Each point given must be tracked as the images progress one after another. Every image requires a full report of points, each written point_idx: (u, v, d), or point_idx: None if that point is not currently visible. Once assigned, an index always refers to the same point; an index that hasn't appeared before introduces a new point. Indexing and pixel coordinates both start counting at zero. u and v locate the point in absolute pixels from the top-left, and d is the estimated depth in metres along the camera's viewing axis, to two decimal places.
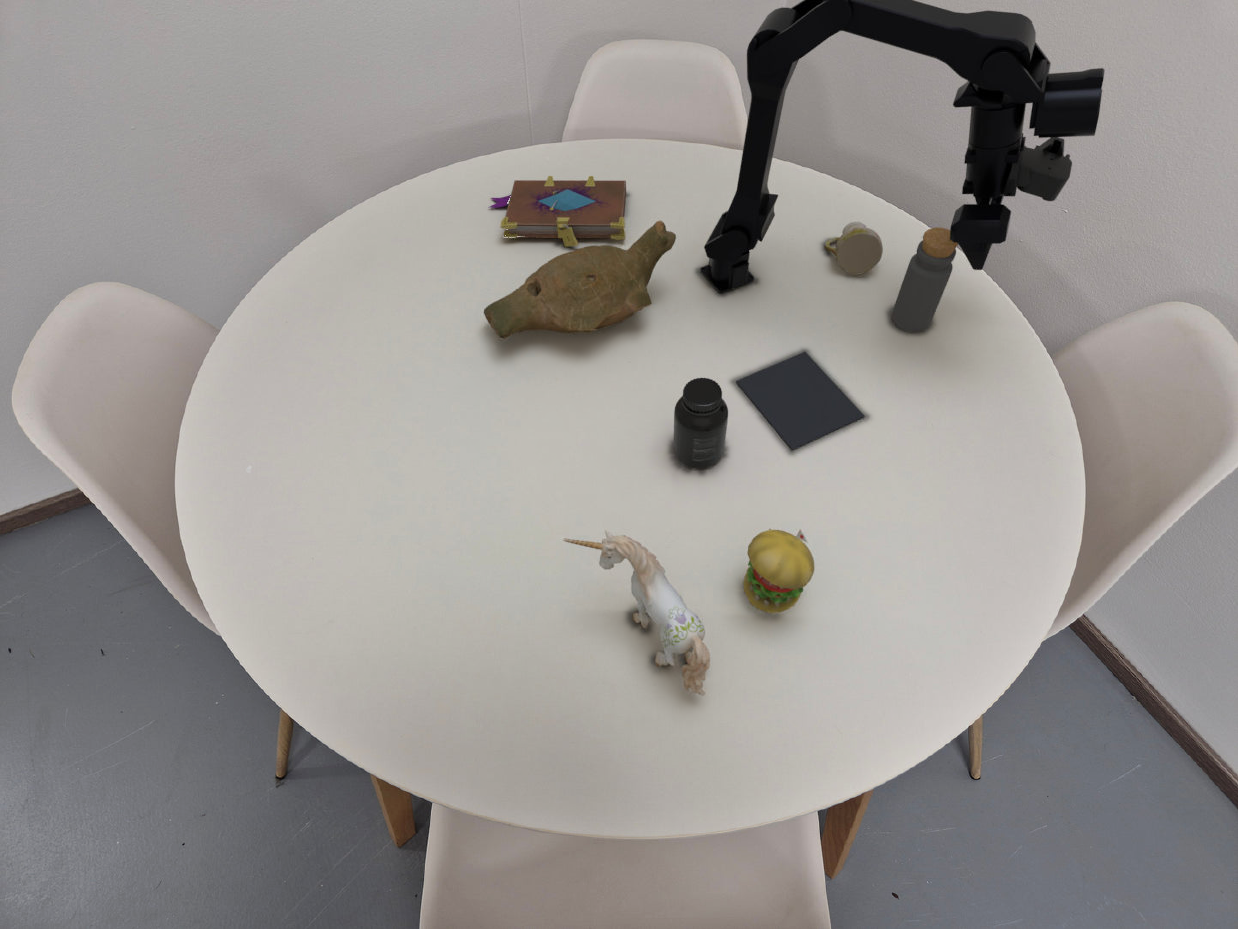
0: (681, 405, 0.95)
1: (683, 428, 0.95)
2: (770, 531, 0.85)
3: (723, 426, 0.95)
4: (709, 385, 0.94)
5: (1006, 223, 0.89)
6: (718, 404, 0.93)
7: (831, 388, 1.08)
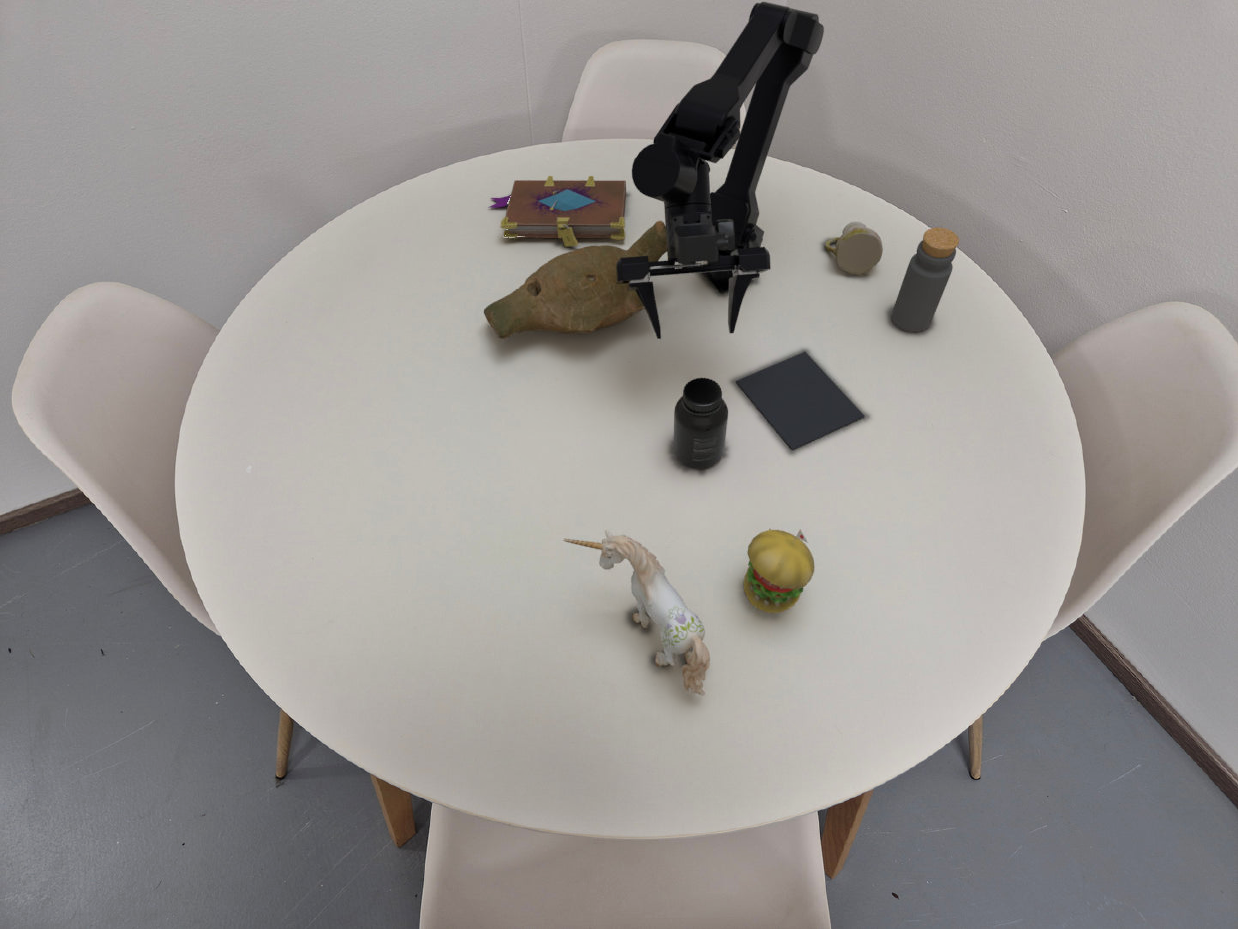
0: (681, 405, 0.95)
1: (683, 428, 0.95)
2: (770, 531, 0.85)
3: (723, 426, 0.95)
4: (709, 385, 0.94)
5: (625, 262, 0.92)
6: (718, 404, 0.93)
7: (831, 388, 1.08)
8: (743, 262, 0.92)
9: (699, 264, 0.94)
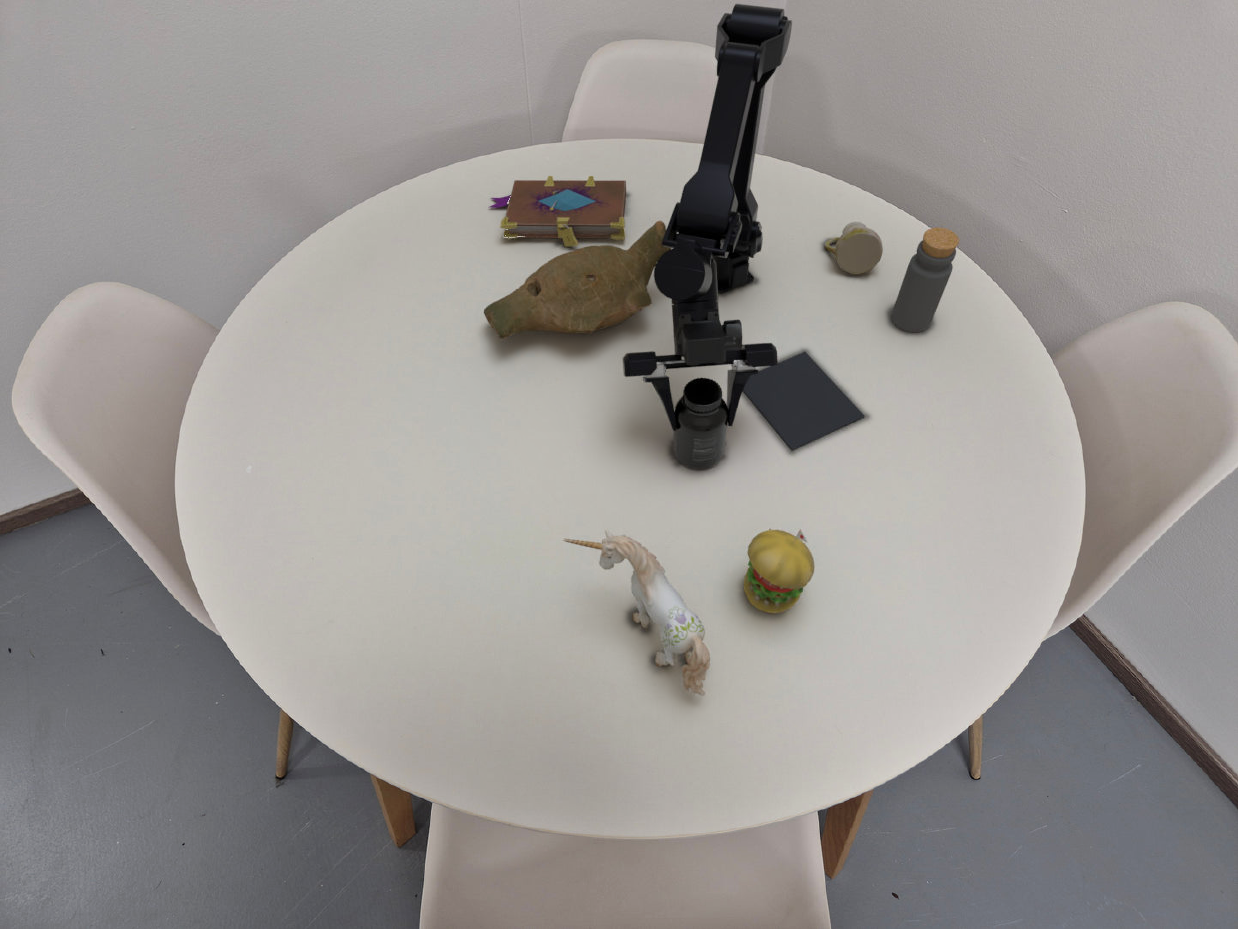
0: (681, 405, 0.95)
1: (683, 428, 0.95)
2: (770, 531, 0.85)
3: (723, 426, 0.95)
4: (709, 385, 0.94)
5: (633, 359, 0.92)
6: (718, 404, 0.93)
7: (831, 388, 1.08)
8: (750, 359, 0.92)
9: None
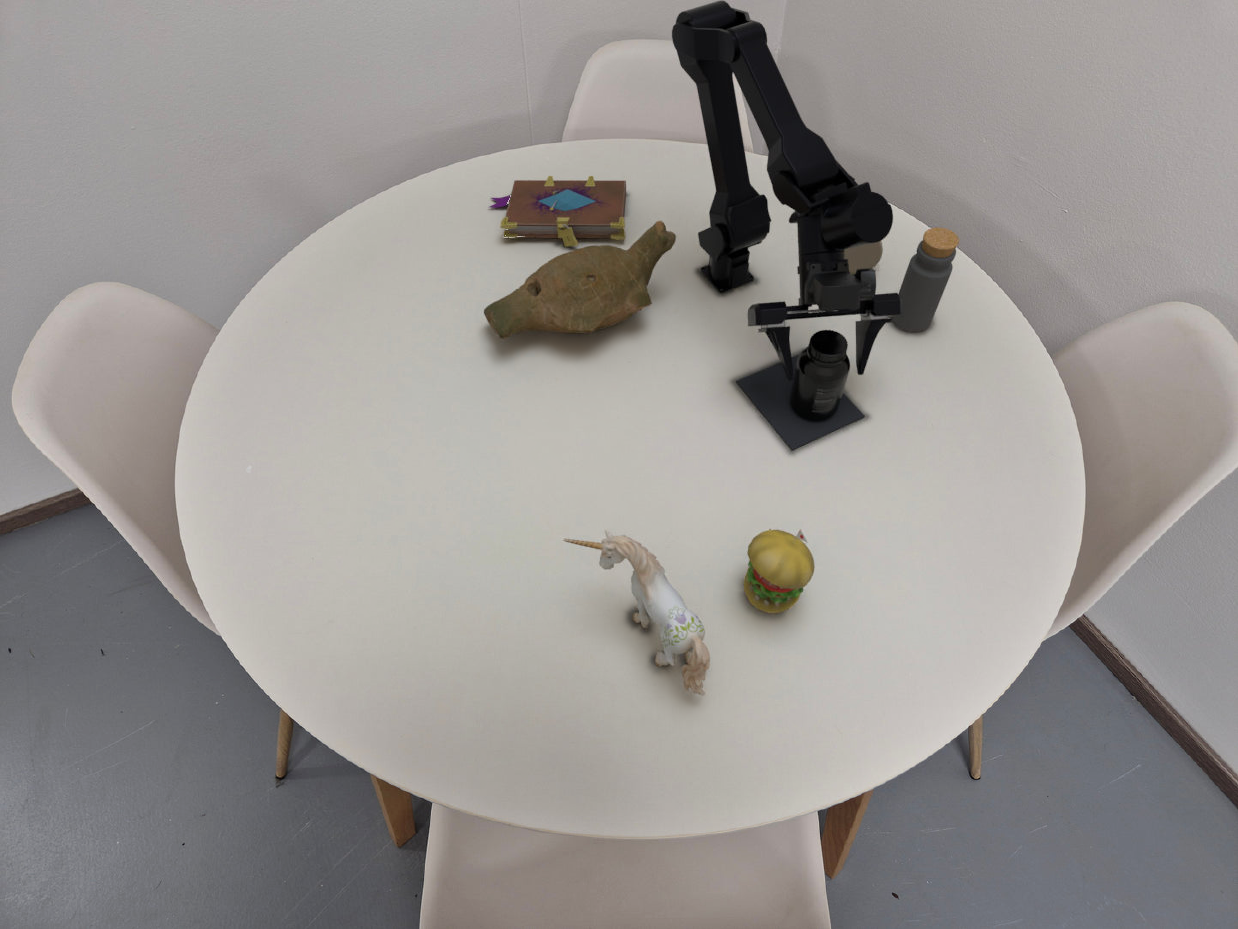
0: (805, 356, 0.99)
1: (807, 379, 0.99)
2: (770, 531, 0.85)
3: (846, 377, 0.99)
4: (834, 336, 0.97)
5: (764, 308, 0.95)
6: (844, 354, 0.97)
7: None
8: (877, 308, 0.96)
9: None
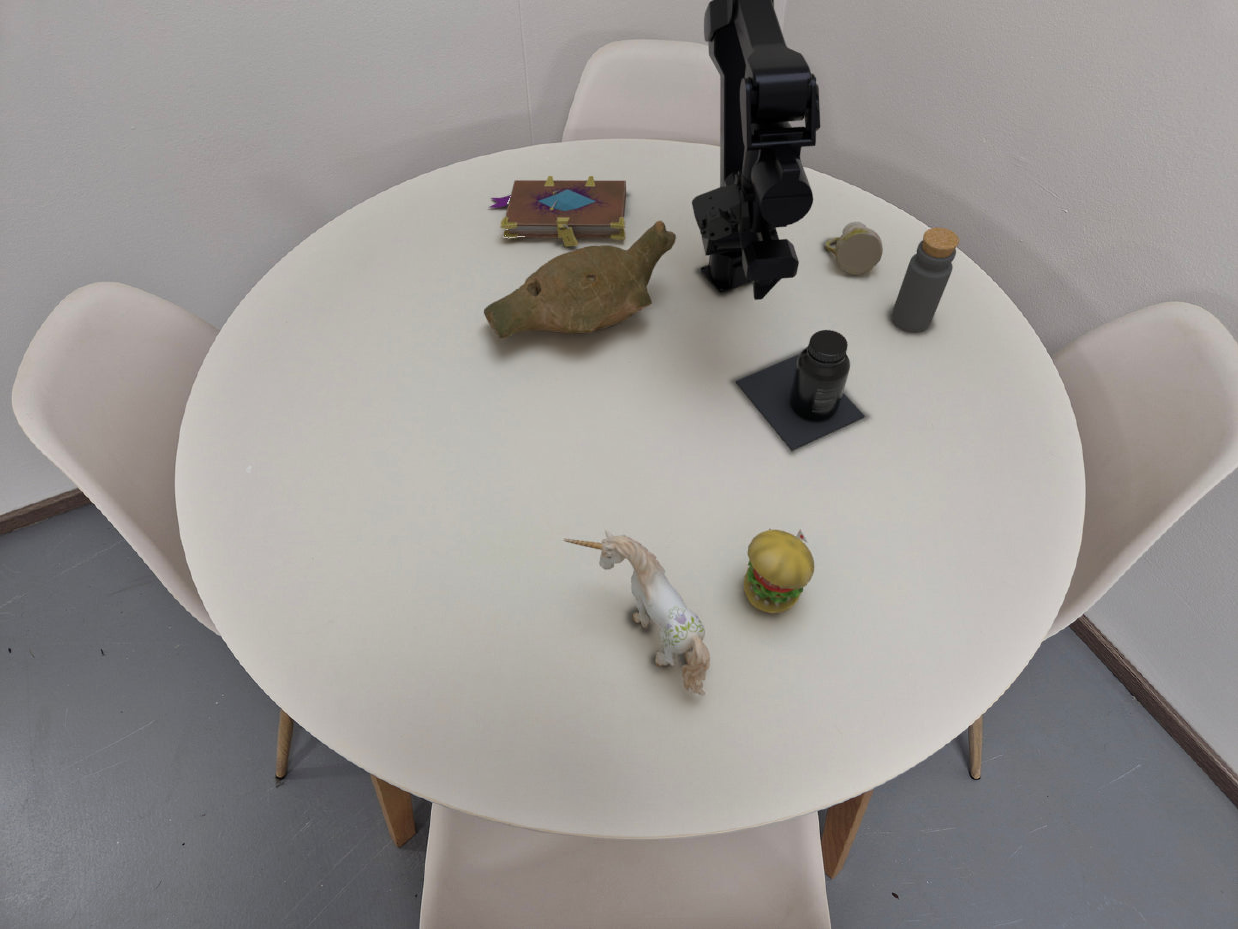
0: (805, 356, 0.99)
1: (807, 379, 0.99)
2: (770, 531, 0.85)
3: (846, 377, 0.99)
4: (834, 336, 0.97)
5: (726, 180, 1.01)
6: (844, 354, 0.97)
7: None
8: (742, 256, 0.93)
9: None
